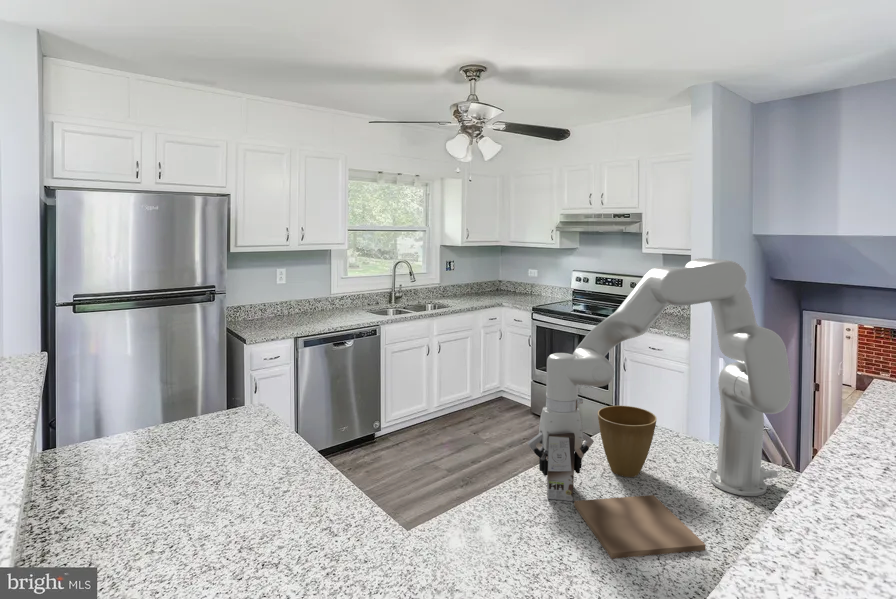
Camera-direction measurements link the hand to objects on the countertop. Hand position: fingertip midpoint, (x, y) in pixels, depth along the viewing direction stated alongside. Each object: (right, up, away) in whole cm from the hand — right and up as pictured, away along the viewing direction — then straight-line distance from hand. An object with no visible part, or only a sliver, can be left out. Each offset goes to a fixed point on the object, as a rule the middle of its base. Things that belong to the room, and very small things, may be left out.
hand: (560, 471), depth 126 cm
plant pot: (+20, -4, +11) cm, 23 cm away
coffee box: (0, -5, +1) cm, 5 cm away
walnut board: (+13, -7, -15) cm, 21 cm away
